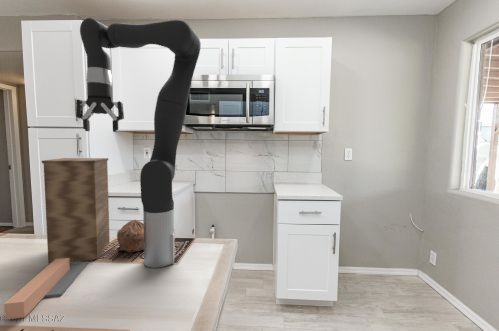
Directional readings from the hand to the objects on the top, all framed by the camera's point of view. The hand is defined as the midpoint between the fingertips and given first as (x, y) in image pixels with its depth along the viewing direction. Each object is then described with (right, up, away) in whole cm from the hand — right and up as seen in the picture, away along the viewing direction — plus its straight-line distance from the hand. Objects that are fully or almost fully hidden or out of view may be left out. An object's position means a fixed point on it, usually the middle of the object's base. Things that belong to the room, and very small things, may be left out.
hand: (101, 131), depth 90 cm
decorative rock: (+9, -42, +5) cm, 44 cm away
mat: (-1, -44, -17) cm, 47 cm away
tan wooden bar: (-1, -44, -24) cm, 50 cm away
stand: (-7, -42, +1) cm, 43 cm away
